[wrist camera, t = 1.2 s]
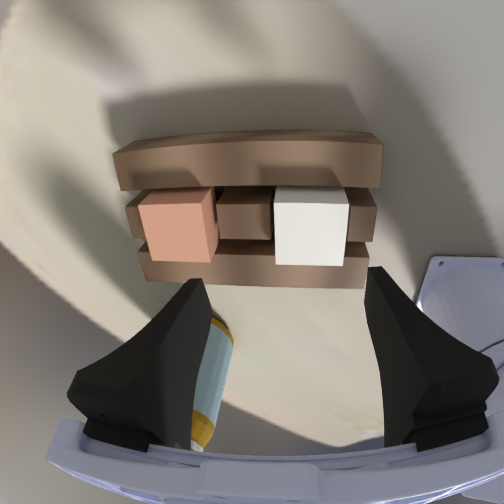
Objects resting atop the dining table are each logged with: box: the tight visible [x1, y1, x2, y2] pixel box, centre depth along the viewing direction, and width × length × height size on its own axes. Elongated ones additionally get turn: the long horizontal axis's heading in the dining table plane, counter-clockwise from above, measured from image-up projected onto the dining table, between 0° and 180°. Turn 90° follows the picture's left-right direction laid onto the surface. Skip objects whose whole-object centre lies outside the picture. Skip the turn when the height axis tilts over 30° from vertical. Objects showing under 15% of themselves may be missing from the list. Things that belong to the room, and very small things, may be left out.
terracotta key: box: [138, 186, 220, 263], centre depth 19 cm, size 4×4×3 cm
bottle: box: [191, 317, 233, 452], centre depth 24 cm, size 7×7×15 cm
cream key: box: [274, 185, 349, 266], centre depth 18 cm, size 4×4×3 cm
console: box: [113, 130, 383, 289], centre depth 20 cm, size 16×10×3 cm, turn 95°
